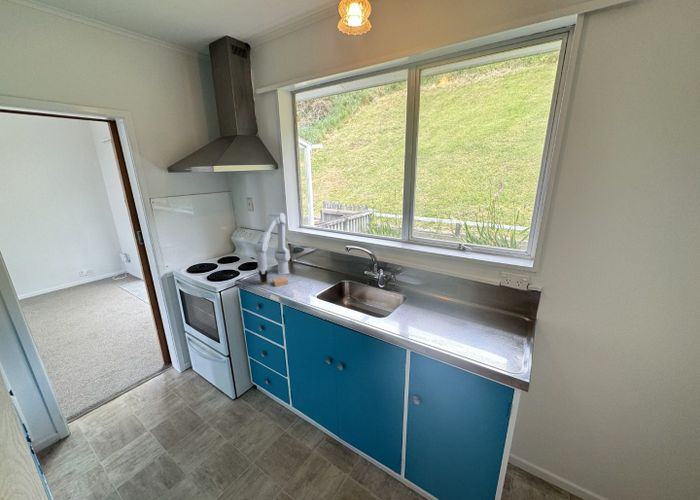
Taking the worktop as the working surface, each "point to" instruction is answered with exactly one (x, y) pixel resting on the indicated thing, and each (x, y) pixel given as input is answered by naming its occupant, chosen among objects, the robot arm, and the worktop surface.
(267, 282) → the walnut block
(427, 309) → the worktop surface
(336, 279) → the worktop surface
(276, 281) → the peach slab
